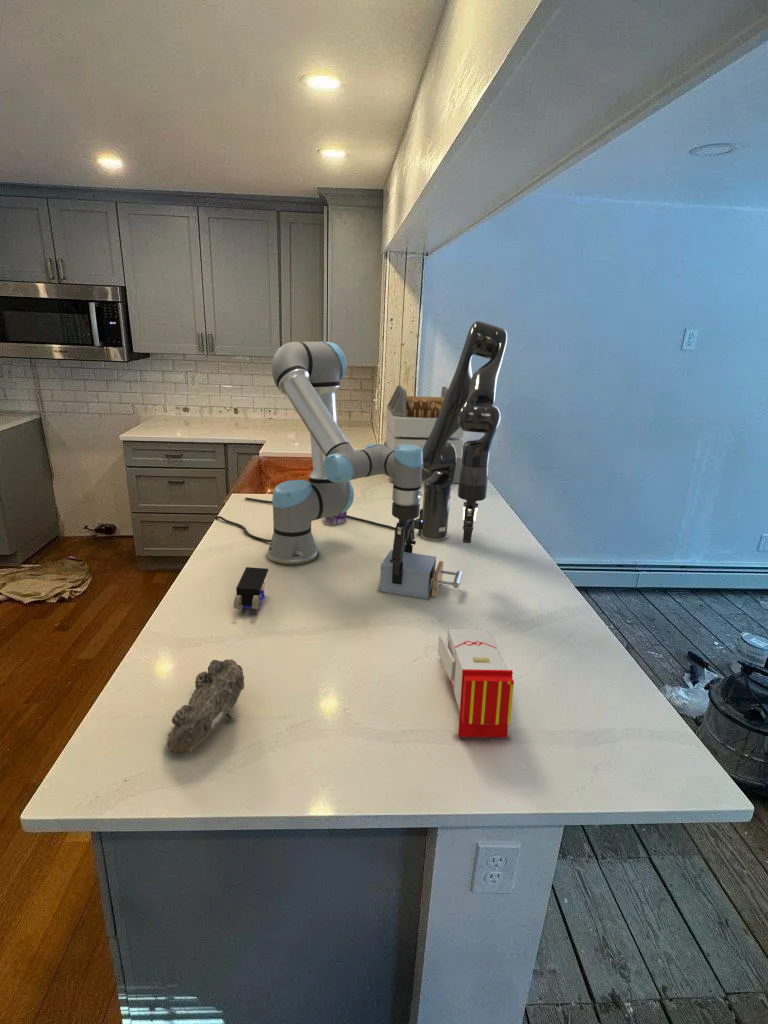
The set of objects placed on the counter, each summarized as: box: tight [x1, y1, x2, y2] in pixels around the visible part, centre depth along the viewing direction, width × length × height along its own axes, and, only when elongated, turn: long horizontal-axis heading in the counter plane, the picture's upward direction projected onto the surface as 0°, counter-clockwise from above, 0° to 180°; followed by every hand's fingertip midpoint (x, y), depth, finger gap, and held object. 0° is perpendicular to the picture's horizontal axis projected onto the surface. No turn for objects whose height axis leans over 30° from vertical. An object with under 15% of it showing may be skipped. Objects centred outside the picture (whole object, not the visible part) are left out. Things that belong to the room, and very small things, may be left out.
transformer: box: [383, 384, 465, 484], centre depth 268 cm, size 34×33×41 cm
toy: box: [437, 628, 515, 738], centre depth 117 cm, size 12×13×30 cm
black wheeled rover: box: [233, 566, 269, 615], centre depth 148 cm, size 7×8×15 cm
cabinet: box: [379, 549, 437, 599], centre depth 161 cm, size 14×11×8 cm
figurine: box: [323, 510, 348, 526], centre depth 206 cm, size 9×10×15 cm
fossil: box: [166, 658, 245, 754], centre depth 106 cm, size 22×10×15 cm
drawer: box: [428, 560, 463, 597], centre depth 160 cm, size 18×10×6 cm, turn 75°
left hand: (401, 574), depth 162 cm, fingers open, 12 cm apart
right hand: (467, 537), depth 156 cm, fingers open, 8 cm apart
